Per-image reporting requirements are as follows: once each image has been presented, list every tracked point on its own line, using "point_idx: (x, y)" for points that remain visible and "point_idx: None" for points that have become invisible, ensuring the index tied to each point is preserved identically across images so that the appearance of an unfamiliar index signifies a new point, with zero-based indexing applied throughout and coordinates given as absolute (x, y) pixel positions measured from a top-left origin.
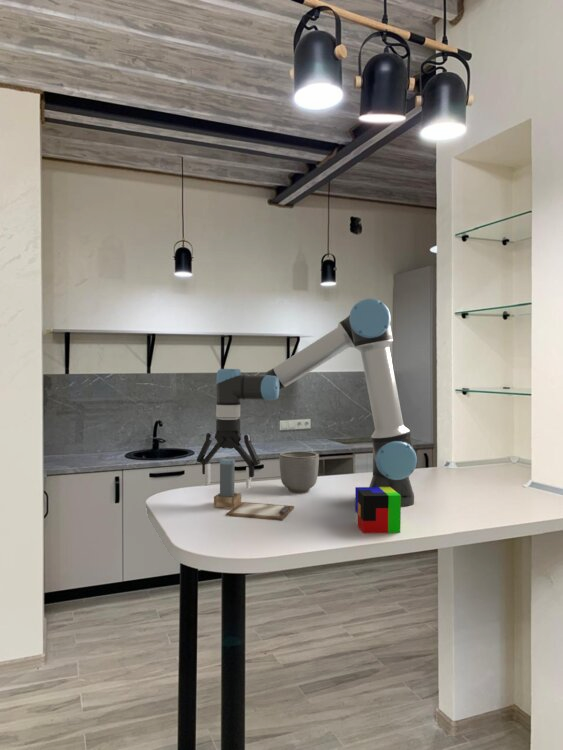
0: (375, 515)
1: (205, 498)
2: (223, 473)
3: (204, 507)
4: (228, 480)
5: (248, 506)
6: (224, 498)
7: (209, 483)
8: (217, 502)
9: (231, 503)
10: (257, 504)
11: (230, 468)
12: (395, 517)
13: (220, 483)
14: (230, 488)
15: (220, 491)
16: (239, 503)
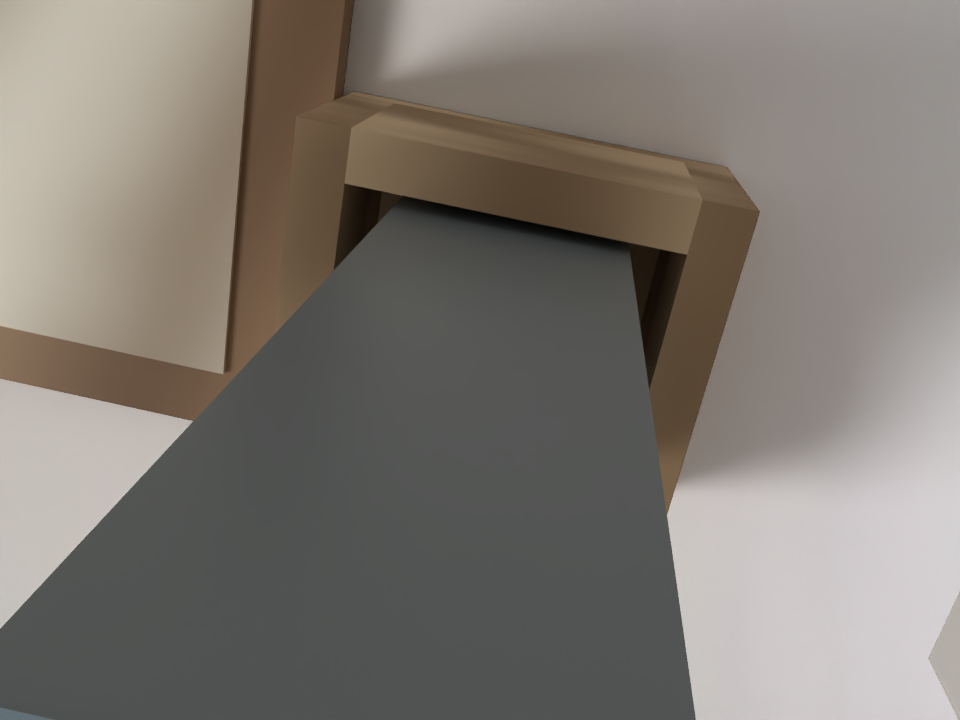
0: None
1: (922, 699)
2: (508, 482)
3: (905, 169)
4: (356, 343)
5: (112, 155)
6: (516, 159)
7: (958, 627)
8: (667, 172)
9: (381, 113)
10: (13, 296)
11: (83, 547)
12: None
13: (628, 357)
14: (351, 260)
15: (620, 282)
16: None
